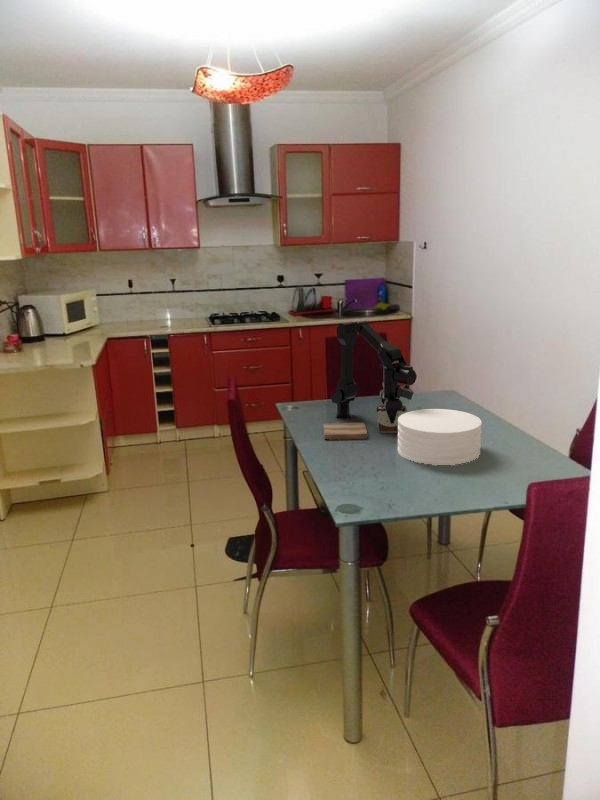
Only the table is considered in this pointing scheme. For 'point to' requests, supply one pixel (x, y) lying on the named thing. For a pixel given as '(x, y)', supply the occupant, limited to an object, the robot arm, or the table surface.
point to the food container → (384, 421)
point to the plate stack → (439, 436)
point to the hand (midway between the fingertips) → (390, 419)
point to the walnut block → (345, 431)
